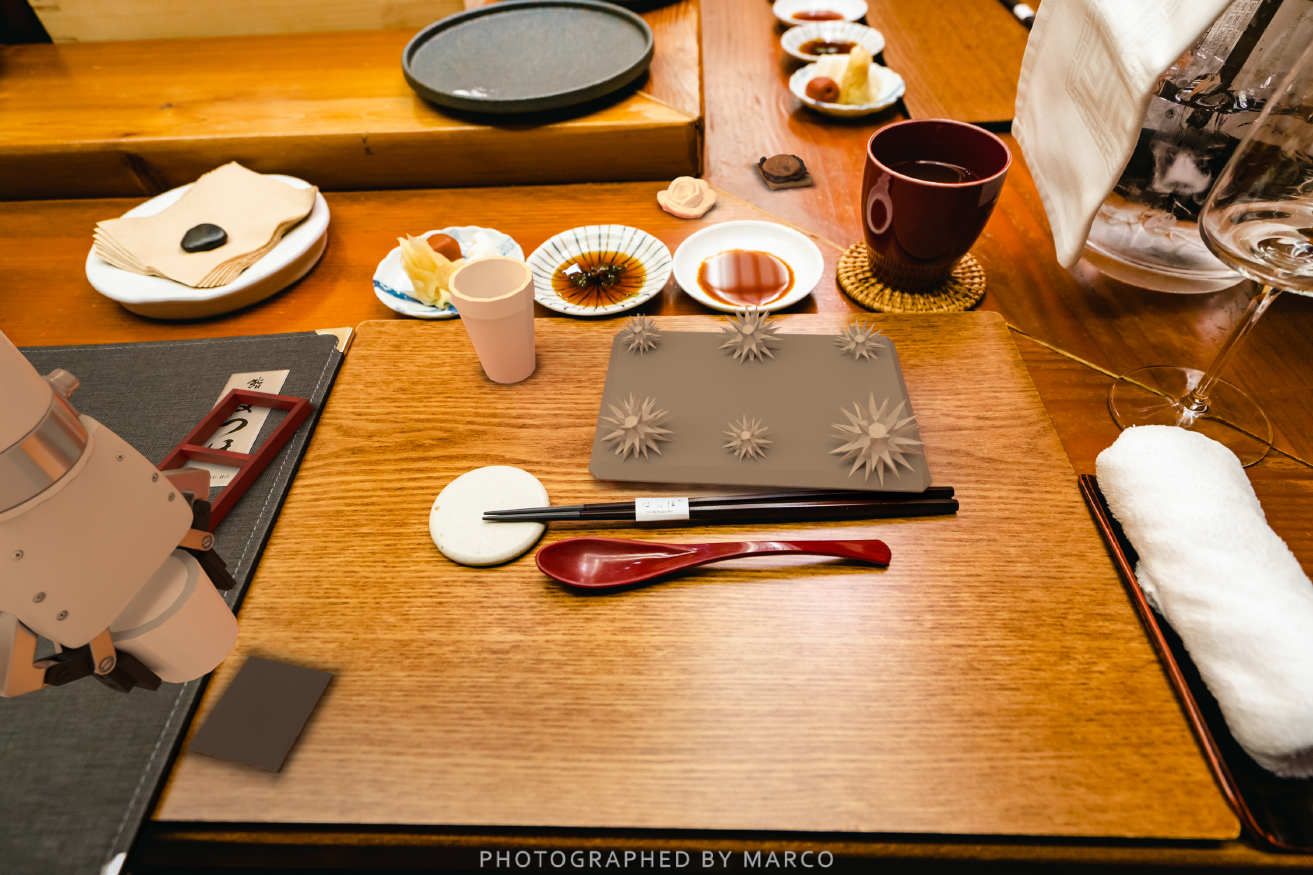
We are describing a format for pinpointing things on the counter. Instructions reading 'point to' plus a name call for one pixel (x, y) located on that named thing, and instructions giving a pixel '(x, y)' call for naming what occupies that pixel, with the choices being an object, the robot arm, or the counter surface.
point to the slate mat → (261, 714)
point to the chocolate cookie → (783, 171)
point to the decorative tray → (758, 409)
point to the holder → (247, 462)
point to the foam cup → (498, 314)
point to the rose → (687, 197)
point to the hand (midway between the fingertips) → (179, 629)
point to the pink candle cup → (177, 622)
